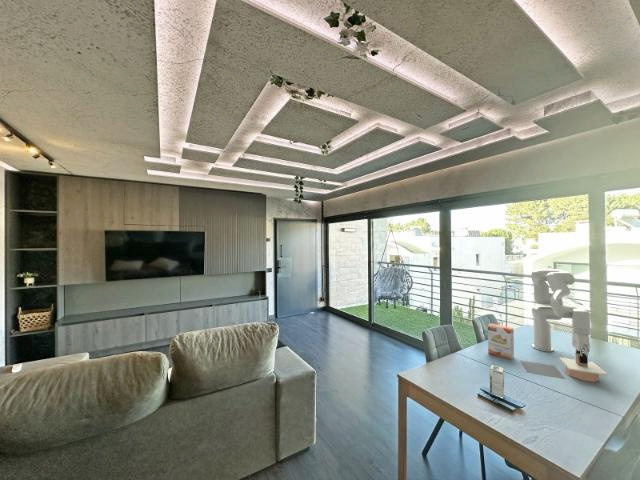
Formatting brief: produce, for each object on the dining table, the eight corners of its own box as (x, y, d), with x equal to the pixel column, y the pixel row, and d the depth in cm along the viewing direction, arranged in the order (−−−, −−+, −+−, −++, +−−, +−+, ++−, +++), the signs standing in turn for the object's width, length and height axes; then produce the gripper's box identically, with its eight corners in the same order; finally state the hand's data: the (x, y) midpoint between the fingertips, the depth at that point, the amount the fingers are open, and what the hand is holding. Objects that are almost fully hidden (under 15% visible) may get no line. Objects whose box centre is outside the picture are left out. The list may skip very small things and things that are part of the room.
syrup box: (491, 391, 140) (490, 364, 140) (504, 395, 136) (503, 367, 136) (489, 396, 135) (489, 368, 135) (503, 400, 131) (503, 371, 131)
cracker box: (487, 353, 186) (487, 324, 186) (491, 351, 189) (490, 322, 189) (511, 360, 174) (510, 329, 175) (514, 358, 178) (513, 327, 178)
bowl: (563, 369, 162) (563, 359, 162) (591, 374, 156) (591, 364, 156) (572, 379, 150) (571, 369, 150) (602, 384, 144) (602, 374, 145)
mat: (519, 360, 174) (519, 360, 174) (554, 366, 166) (554, 365, 166) (526, 373, 158) (526, 372, 158) (565, 380, 150) (565, 379, 150)
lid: (558, 358, 164) (558, 347, 164) (593, 363, 157) (593, 352, 157) (569, 369, 150) (569, 357, 150) (607, 375, 143) (607, 363, 143)
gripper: (567, 325, 163) (567, 354, 163) (579, 334, 148) (579, 366, 147) (583, 327, 159) (583, 356, 159) (597, 336, 144) (597, 368, 144)
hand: (581, 360), depth 153 cm, fingers open, 4 cm apart
